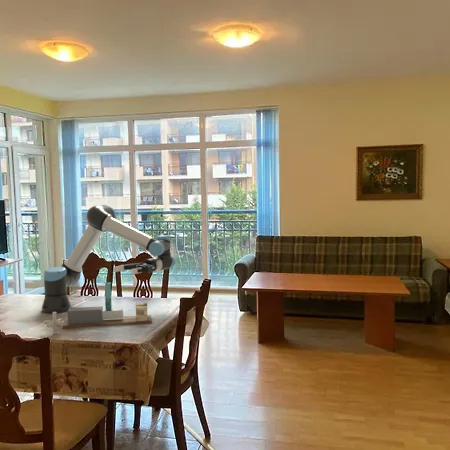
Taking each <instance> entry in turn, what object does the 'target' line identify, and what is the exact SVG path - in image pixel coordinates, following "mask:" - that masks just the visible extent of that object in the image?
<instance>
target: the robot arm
mask: <svg viewBox="0 0 450 450" xmlns="http://www.w3.org/2000/svg"><path fill="white" fill-rule="evenodd" d="M116 217H117V214H116V211H115V210H114V208H113V207H111V206H109V205H106V204H101V205H93V206H91V207H89V209H88V211H87V213H86V219H87V225H88V226H87V227H86V229H85V230H84V232H83V234H82V235H81V237H80V238H79V240H78V243H77V244H76V245H75V248H73V250H72V252H71V254H70V255H69V257H68V259H64V261H63V262H62V264H61V265H60V266H52V267H48V268H46V269H45V270H44V273H43V274H44V275H43V282H44V283H43V284H44V287H43V288H44V299H43V302H42V306H41V312H42V313H45V314H52V312H57V313H58V314H59V313H64V312H68V310H69V309H70V308H72V307H71V306H72V305H71V302H70V299H69V296H68V287H72V286H74V285H75V284H77V283H78V282H79V281H80V279H81V274H82V271H83V265H84V264H85V262H86V260H87V258H88V257H89V255H90V253H91V252H92V250H93V249H94V246H95V245H96V243H97V242H98V240H99V238H100V236H101V235H102V233H106V232H109V233H111V234H113V235H115V236H117V237H119V238H122V239H124V240H125V241H128V242H129V243H132V244H133V245H136V246H137V247H139V248H142V249H144V250H146V251H147V252H149V254H151V255H152V256H154V257H152V258H147V259H144V260H143V262H135V263H127V264H120V265H118V266H113V270H112V271H113V273H118V272H124V271H127V270H128V271H129V270H130V271H131V275H137V274H141V273H145V274H150V273H154V272H155V273H157V272H159V271H164V270H169V269H171V268H174V266H175V263H176V261H175V257H173V256H172V255H171V237H170V235H165V234H162V235H157V237H156V238H154V237H153V236H150V235H148V234H146V233H144V232H143V231H140V230H139V229H137V228H134V227H132V226H130V225H128V224H126V223H124V222H123V221H120V220H117V219H116ZM155 256H156V257H155Z"/></svg>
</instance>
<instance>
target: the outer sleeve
mask: <svg viewBox="0 0 450 450" xmlns="http://www.w3.org/2000/svg"><path fill="white" fill-rule="evenodd" d="M102 309H104V306H84V307H83V306H80V307H71V308H70V309H69V310H68V311H67V319H68V324H80V323H99V322H102V321H103V319H102Z"/></svg>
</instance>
